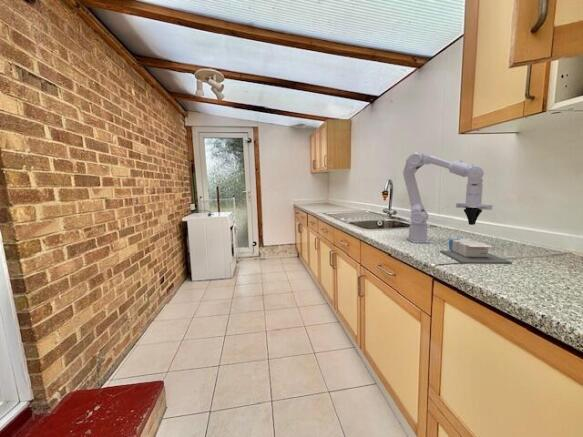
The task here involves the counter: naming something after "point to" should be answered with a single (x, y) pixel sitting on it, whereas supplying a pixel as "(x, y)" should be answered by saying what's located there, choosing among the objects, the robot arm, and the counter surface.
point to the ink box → (468, 247)
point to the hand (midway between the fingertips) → (471, 224)
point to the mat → (476, 259)
